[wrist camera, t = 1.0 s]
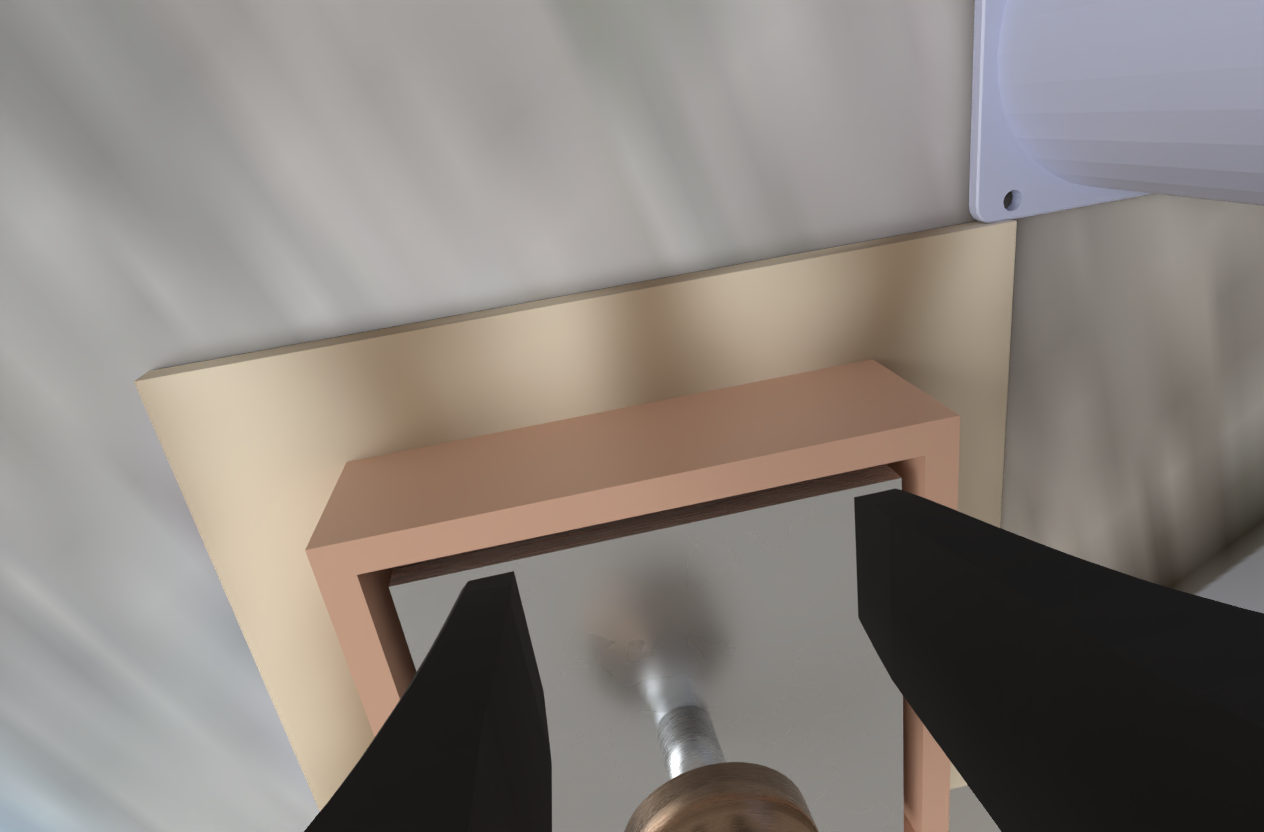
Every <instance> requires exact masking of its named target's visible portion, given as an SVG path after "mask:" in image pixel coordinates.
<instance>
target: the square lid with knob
mask: <svg viewBox="0 0 1264 832" xmlns="http://www.w3.org/2000/svg"><path fill="white" fill-rule="evenodd" d="M895 488H896V489H900V490H902V478H901V477H900V476H899V475H898V474H897V473H896V472H894V471H893V470H892V469H891V468H890V467H889V466H888V465H887V464H882V465H878V466H873V467H868V468H863V469H859V470H854V471H849V472H844V473H840V474H835V475H830V476H825V477H820V478H816V479H811V480H806V481H801V482H797V483H792V484H787V485H782V486H778V487H773V488H768V489H763V490H759V491H754V492H749V493H744V494H740V495H735V496H730V497H725V498H721V499H716V500H711V501H706V502H701V503H697V504H692V505H687V506H682V507H678V508H673V509H668V510H663V511H659V512H654V513H649V514H644V515H640V516H635V517H630V518H625V519H621V520H616V521H611V522H606V523H601V524H597V525H592V526H587V527H582V528H578V529H573V530H568V531H563V532H559V533H554V534H549V535H544V536H540V537H535V538H530V539H525V540H521V541H516V542H511V543H506V544H501V545H497V546H492V547H487V548H482V549H478V550H473V551H468V552H463V553H459V554H454V555H449V556H444V557H440V558H435V559H430V560H425V561H421V562H416V563H411V564H406V565H402V566H397V567H394V568H393V572H392V576H391V579H390V583H389V590H390V593H391V596H392V599H393V602H394V605H395V608H396V611H397V614H398V617H399V620H400V623H401V626H402V629H403V632H404V635H405V638H406V641H407V644H408V647H409V650H410V654H411V657H412V660H413V663H414V666H415V669H416V672H417V670H418V669H419V667H420V665H421V664H422V662H423V660H424V659H425V657H426V655H427V654H428V652H429V650H430V648H431V647H432V645H433V643H434V641H435V639H436V638H437V636H438V634H439V632H440V630H441V628H442V627H443V625H444V623H445V621H446V619H447V617H448V615H449V613H450V612H451V610H452V608H453V606H454V604H455V602H456V600H457V598H458V596H459V594H460V592H461V590H462V589H463V587H464V586H465V585H466V583H467V582H468V581H470V580H475V579H480V578H484V577H489V576H493V575H498V574H503V573H507V572H512V571H514V573H515V577H516V582H517V586H518V590H519V594H520V598H521V602H522V606H523V610H524V614H525V618H526V622H527V626H528V630H529V634H530V638H531V642H532V646H533V650H534V654H535V658H536V662H537V666H538V671H539V675H540V679H541V683H542V687H543V691H544V699H545V707H546V716H547V724H548V733H549V742H550V752H551V761H552V832H904V789H903V695H902V694H901V692H900V691H899V689H898V688H897V686H896V685H895V684H894V682H893V681H892V679H891V677H890V676H889V674H888V672H887V670H886V668H885V667H884V665H883V663H882V661H881V660H880V658H879V656H878V654H877V652H876V651H875V649H874V647H873V645H872V643H871V641H870V639H869V637H868V635H867V633H866V632H865V630H864V628H863V626H862V624H861V622H860V620H859V618H858V595H857V567H856V539H855V510H854V497H858V496H863V495H867V494H872V493H877V492H881V491H886V490H890V489H895Z"/></svg>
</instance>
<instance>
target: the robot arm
mask: <svg viewBox="0 0 1264 832" xmlns="http://www.w3.org/2000/svg"><path fill="white" fill-rule="evenodd" d="M1010 191H1011V192H1012V195H1013V199H1012V202H1011V204H1010V205H1009V206H1008V207H1007V208H1004V204H1003V201H1004V197H1005V196H1006V194H1007V193H1008V192H1010ZM1150 194H1163V195H1172V196H1181V197H1190V198H1200V199H1209V200H1218V201H1227V202H1237V203H1246V204H1255V205H1264V0H975V14H974V49H973V83H972V117H971V151H970V186H969V209H970V213H971V215H972V216H973V218H974V219H976V220H978V221H980V222H985V223H996V222H1001V221H1007V220H1012V219H1018V218H1023V217H1029V216H1034V215H1040V214H1045V213H1051V212H1056V211H1062V210H1067V209H1073V208H1078V207H1084V206H1089V205H1095V204H1100V203H1106V202H1112V201H1117V200H1123V199H1128V198H1134V197H1139V196H1145V195H1150ZM854 510H855V539H856V567H857V595H858V618H859V620H860V622H861V624H862V626H863V628H864V630H865V632H866V633H867V635H868V637H869V639H870V641H871V643H872V645H873V647H874V649H875V651H876V652H877V654H878V656H879V658H880V660H881V661H882V663H883V665H884V667H885V668H886V670H887V672H888V674H889V676H890V677H891V679H892V681H893V682H894V684H895V685H896V686H897V688H898V689H899V691H900V692H901V694H902V695H903V696H904V698H905V699H906V701H907V702H908V703H909V705H910V706H911V708H912V709H913V710H914V712H915V713H916V714H917V716H918V717H919V719H920V720H921V721H922V723H923V724H924V726H925V727H926V728H927V730H928V731H929V733H930V734H931V735H932V737H933V738H934V739H935V741H936V742H937V743H938V745H939V746H940V748H941V749H942V750H943V752H944V753H945V754H946V756H947V757H948V759H949V760H950V761H951V763H952V764H953V765H954V767H955V768H956V769H957V771H958V772H959V774H960V775H961V776H962V778H963V779H964V780H965V782H966V783H967V785H968V786H969V787H970V789H971V790H972V791H973V793H974V794H975V795H976V797H977V798H978V800H979V801H980V802H981V803H982V805H983V806H984V808H985V809H986V811H987V812H988V813H989V815H990V816H991V817H992V819H993V820H994V821H995V823H996V824H997V825H998V827H999V829H1000V830H1001V832H1264V614H1263V613H1259V612H1255V611H1251V610H1247V609H1243V608H1239V607H1236V606H1232V605H1229V604H1225V603H1221V602H1218V601H1214V600H1211V599H1207V598H1203V597H1200V596H1196V595H1192V594H1189V593H1185V592H1182V591H1178V590H1174V589H1171V588H1168V587H1164V586H1161V585H1158V584H1155V583H1151V582H1148V581H1145V580H1142V579H1139V578H1135V577H1133V576H1130V575H1127V574H1124V573H1121V572H1118V571H1115V570H1112V569H1109V568H1106V567H1103V566H1100V565H1097V564H1094V563H1091V562H1089V561H1086V560H1083V559H1080V558H1077V557H1074V556H1072V555H1069V554H1066V553H1063V552H1061V551H1058V550H1055V549H1053V548H1050V547H1047V546H1045V545H1042V544H1039V543H1037V542H1034V541H1032V540H1029V539H1026V538H1024V537H1021V536H1019V535H1016V534H1014V533H1011V532H1009V531H1006V530H1004V529H1001V528H999V527H996V526H994V525H991V524H989V523H986V522H984V521H981V520H979V519H976V518H974V517H971V516H969V515H966V514H964V513H961V512H959V511H956V510H954V509H951V508H949V507H946V506H944V505H941V504H939V503H936V502H934V501H931V500H929V499H926V498H923V497H921V496H918V495H915V494H912V493H909V492H906V491H903V490H900V489H896V488H895V489H890V490H886V491H881V492H877V493H872V494H867V495H863V496H858V497H854ZM304 832H552V761H551V752H550V742H549V733H548V724H547V716H546V707H545V699H544V691H543V687H542V683H541V679H540V675H539V671H538V666H537V662H536V658H535V654H534V650H533V646H532V642H531V638H530V634H529V630H528V626H527V622H526V618H525V614H524V610H523V606H522V602H521V598H520V594H519V590H518V586H517V582H516V577H515V573H514V571H512V572H507V573H503V574H498V575H493V576H489V577H484V578H480V579H475V580H470V581H468V582H467V583H466V585H465V586H464V587H463V589H462V590H461V592H460V594H459V596H458V598H457V600H456V602H455V604H454V606H453V608H452V610H451V612H450V613H449V615H448V617H447V619H446V621H445V623H444V625H443V627H442V628H441V630H440V632H439V634H438V636H437V638H436V639H435V641H434V643H433V645H432V647H431V648H430V650H429V652H428V654H427V655H426V657H425V659H424V660H423V662H422V664H421V665H420V667H419V669H418V670H417V672H416V674H415V675H414V677H413V679H412V680H411V682H410V684H409V686H408V687H407V689H406V691H405V692H404V694H403V695H402V697H401V699H400V700H399V702H398V703H397V705H396V706H395V708H394V709H393V711H392V712H391V714H390V715H389V717H388V718H387V720H386V721H385V723H384V724H383V726H382V727H381V729H380V730H379V732H378V733H377V735H376V736H375V738H374V739H373V741H372V742H371V744H370V745H369V747H368V748H367V750H366V751H365V753H364V754H363V755H362V757H361V758H360V760H359V761H358V762H357V764H356V765H355V767H354V768H353V769H352V771H351V772H350V773H349V775H348V776H347V777H346V779H345V780H344V782H343V783H342V784H341V786H340V787H339V788H338V789H337V791H336V792H335V793H334V795H333V796H332V797H331V799H330V800H329V801H328V802H327V804H326V805H325V806H324V807H323V809H322V810H321V811H320V812H319V814H318V815H317V816H316V817H315V819H314V820H313V821H312V822H311V824H310V825H309V826H308V827H307V829H306V830H305V831H304Z"/></svg>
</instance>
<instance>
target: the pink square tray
mask: <svg viewBox="0 0 1264 832" xmlns="http://www.w3.org/2000/svg"><path fill="white" fill-rule="evenodd" d="M959 441H960V415H959V414H957V413H956V412H954V411H953V410H951V409H950V408H948V407H946V406H945V405H943V404H942V403H940V402H939V401H937V400H936V399H934V398H932V397H931V396H929V395H928V394H926V393H925V392H923V391H922V390H920V389H918V388H917V387H915V386H914V385H912V384H911V383H909V382H908V381H906V380H904V379H903V378H901V377H900V376H898V375H897V374H895V373H893V372H892V371H890V370H889V369H887V368H886V367H884V366H883V365H881V364H879V363H878V362H876V361H875V360H873V359H870V360H865V361H860V362H854V363H849V364H844V365H839V366H834V367H829V368H824V369H819V370H814V371H809V372H803V373H798V374H793V375H788V376H783V377H778V378H773V379H768V380H763V381H758V382H753V383H747V384H742V385H737V386H732V387H727V388H722V389H717V390H712V391H707V392H702V393H696V394H691V395H686V396H681V397H676V398H671V399H666V400H661V401H656V402H651V403H646V404H640V405H635V406H630V407H625V408H620V409H615V410H610V411H605V412H600V413H595V414H589V415H584V416H579V417H574V418H569V419H564V420H559V421H554V422H549V423H544V424H539V425H533V426H528V427H523V428H518V429H513V430H508V431H503V432H498V433H493V434H488V435H482V436H477V437H472V438H467V439H462V440H457V441H452V442H447V443H442V444H437V445H432V446H426V447H421V448H416V449H411V450H406V451H401V452H396V453H391V454H386V455H381V456H375V457H370V458H365V459H360V460H355V461H350V462H346V464H345V466H344V468H343V470H342V473H341V475H340V477H339V479H338V481H337V483H336V485H335V487H334V490H333V492H332V494H331V496H330V498H329V500H328V502H327V504H326V507H325V509H324V511H323V513H322V515H321V517H320V519H319V521H318V524H317V526H316V528H315V530H314V532H313V534H312V536H311V538H310V541H309V543H308V545H307V547H306V549H305V552H306V554H307V557H308V560H309V562H310V565H311V568H312V570H313V573H314V576H315V578H316V581H317V584H318V587H319V589H320V592H321V595H322V597H323V600H324V603H325V605H326V608H327V611H328V613H329V616H330V619H331V621H332V624H333V627H334V629H335V632H336V635H337V638H338V640H339V643H340V646H341V648H342V651H343V654H344V656H345V659H346V662H347V664H348V667H349V670H350V672H351V675H352V678H353V680H354V683H355V686H356V688H357V691H358V694H359V697H360V699H361V702H362V705H363V707H364V710H365V713H366V715H367V718H368V721H369V723H370V726H371V729H372V731H373V734H374V737H375V736H376V735H377V733H378V732H379V730H380V729H381V727H382V726H383V724H384V723H385V721H386V720H387V718H388V717H389V715H390V714H391V712H392V711H393V709H394V708H395V706H396V705H397V703H398V702H399V700H400V699H401V697H402V695H403V694H404V692H405V691H406V689H407V687H408V686H409V684H410V682H411V680H412V679H413V677H414V675H415V674H416V669H415V666H414V663H413V660H412V657H411V654H410V650H409V647H408V644H407V641H406V638H405V635H404V632H403V629H402V626H401V623H400V620H399V617H398V614H397V611H396V608H395V605H394V602H393V599H392V596H391V593H390V590H389V583H390V579H391V576H392V572H393V568H394V567H397V566H402V565H406V564H411V563H416V562H421V561H425V560H430V559H435V558H440V557H444V556H449V555H454V554H459V553H463V552H468V551H473V550H478V549H482V548H487V547H492V546H497V545H501V544H506V543H511V542H516V541H521V540H525V539H530V538H535V537H540V536H544V535H549V534H554V533H559V532H563V531H568V530H573V529H578V528H582V527H587V526H592V525H597V524H601V523H606V522H611V521H616V520H621V519H625V518H630V517H635V516H640V515H644V514H649V513H654V512H659V511H663V510H668V509H673V508H678V507H682V506H687V505H692V504H697V503H701V502H706V501H711V500H716V499H721V498H725V497H730V496H735V495H740V494H744V493H749V492H754V491H759V490H763V489H768V488H773V487H778V486H782V485H787V484H792V483H797V482H801V481H806V480H811V479H816V478H820V477H825V476H830V475H835V474H840V473H844V472H849V471H854V470H859V469H863V468H868V467H873V466H878V465H882V464H887V465H888V466H889V467H890V468H891V469H892V470H893V471H894V472H896V473H897V474H898V475H899V476H900V477H901V478H902V490H903V491H906V492H909V493H912V494H915V495H918V496H921V497H923V498H926V499H929V500H931V501H934V502H936V503H939V504H941V505H944V506H946V507H949V508H951V509H954V510H956V511H958V477H959ZM950 765H951V761H950V760H949V759H948V757H947V756H946V754H945V753H944V752H943V750H942V749H941V748H940V746H939V745H938V743H937V742H936V741H935V739H934V738H933V737H932V735H931V734H930V733H929V731H928V730H927V728H926V727H925V726H924V724H923V723H922V721H921V720H920V719H919V717H918V716H917V714H916V713H915V712H914V710H913V709H912V708H911V706H910V705H909V703H908V702H907V701H906V699H905V698H904V696H903V789H904V832H949V801H950Z"/></svg>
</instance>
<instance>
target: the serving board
mask: <svg viewBox="0 0 1264 832" xmlns="http://www.w3.org/2000/svg"><path fill="white" fill-rule="evenodd" d="M1016 226H1017V221H1014V220H1007V221H1001V222H996V223H985V222H980V221H975V222H970V223H964V224H958V225H953V226H947V227H942V228H936V229H931V230H925V231H920V232H914V233H909V234H903V235H898V236H892V237H887V238H881V239H876V240H870V241H865V242H859V243H854V244H848V245H842V246H837V247H831V248H826V249H820V250H815V251H809V252H804V253H798V254H793V255H787V256H782V257H776V258H771V259H765V260H760V261H754V262H749V263H743V264H738V265H732V266H726V267H721V268H715V269H710V270H704V271H699V272H693V273H688V274H682V275H677V276H671V277H666V278H660V279H655V280H649V281H644V282H638V283H633V284H627V285H622V286H616V287H610V288H605V289H599V290H594V291H588V292H583V293H577V294H572V295H566V296H561V297H555V298H550V299H544V300H539V301H533V302H528V303H522V304H517V305H511V306H506V307H500V308H494V309H489V310H483V311H478V312H472V313H467V314H461V315H456V316H450V317H445V318H439V319H434V320H428V321H423V322H417V323H412V324H406V325H401V326H395V327H390V328H384V329H378V330H373V331H367V332H362V333H356V334H351V335H345V336H340V337H334V338H329V339H323V340H318V341H312V342H307V343H301V344H296V345H290V346H285V347H279V348H274V349H268V350H262V351H257V352H251V353H246V354H240V355H235V356H229V357H224V358H218V359H213V360H207V361H202V362H196V363H191V364H185V365H180V366H174V367H169V368H163V369H158V370H152V371H148V372H147V373H146V374H144V375H143V376H141V377H140V378H138V379H137V380H136V381H134V383H135V385H136V387H137V390H138V392H139V394H140V397H141V399H142V401H143V404H144V406H145V408H146V411H147V413H148V415H149V417H150V420H151V422H152V424H153V427H154V429H155V431H156V434H157V436H158V438H159V441H160V443H161V445H162V447H163V450H164V452H165V454H166V457H167V459H168V461H169V464H170V466H171V468H172V471H173V473H174V475H175V477H176V480H177V482H178V484H179V487H180V489H181V491H182V494H183V496H184V498H185V501H186V503H187V505H188V508H189V510H190V512H191V514H192V517H193V519H194V521H195V524H196V526H197V528H198V531H199V533H200V535H201V538H202V540H203V542H204V544H205V547H206V549H207V551H208V554H209V556H210V558H211V561H212V563H213V565H214V568H215V570H216V572H217V574H218V577H219V579H220V581H221V584H222V586H223V588H224V591H225V593H226V595H227V598H228V600H229V602H230V605H231V607H232V609H233V611H234V614H235V616H236V618H237V621H238V623H239V625H240V628H241V630H242V632H243V635H244V637H245V639H246V641H247V644H248V646H249V648H250V651H251V653H252V655H253V658H254V660H255V662H256V665H257V667H258V669H259V671H260V674H261V676H262V678H263V681H264V683H265V685H266V688H267V690H268V692H269V695H270V697H271V699H272V702H273V704H274V706H275V708H276V711H277V713H278V715H279V718H280V720H281V722H282V725H283V727H284V729H285V732H286V734H287V736H288V738H289V741H290V743H291V745H292V748H293V750H294V752H295V755H296V757H297V759H298V762H299V764H300V766H301V768H302V771H303V773H304V775H305V778H306V780H307V782H308V785H309V787H310V789H311V792H312V794H313V796H314V799H315V801H316V803H317V805H318V808H319V810H320V811H321V810H322V809H323V807H324V806H325V805H326V804H327V802H328V801H329V800H330V799H331V797H332V796H333V795H334V793H335V792H336V791H337V789H338V788H339V787H340V786H341V784H342V783H343V782H344V780H345V779H346V777H347V776H348V775H349V773H350V772H351V771H352V769H353V768H354V767H355V765H356V764H357V762H358V761H359V760H360V758H361V757H362V755H363V754H364V753H365V751H366V750H367V748H368V747H369V745H370V744H371V742H372V741H373V739H374V738H375V737H374V734H373V731H372V729H371V726H370V723H369V721H368V718H367V715H366V713H365V710H364V707H363V705H362V702H361V699H360V697H359V694H358V691H357V688H356V686H355V683H354V680H353V678H352V675H351V672H350V670H349V667H348V664H347V662H346V659H345V656H344V654H343V651H342V648H341V646H340V643H339V640H338V638H337V635H336V632H335V629H334V627H333V624H332V621H331V619H330V616H329V613H328V611H327V608H326V605H325V603H324V600H323V597H322V595H321V592H320V589H319V587H318V584H317V581H316V578H315V576H314V573H313V570H312V568H311V565H310V562H309V560H308V557H307V554H306V552H305V549H306V547H307V545H308V543H309V541H310V538H311V536H312V534H313V532H314V530H315V528H316V526H317V524H318V521H319V519H320V517H321V515H322V513H323V511H324V509H325V507H326V504H327V502H328V500H329V498H330V496H331V494H332V492H333V490H334V487H335V485H336V483H337V481H338V479H339V477H340V475H341V473H342V470H343V468H344V466H345V464H346V462H350V461H355V460H360V459H365V458H370V457H375V456H381V455H386V454H391V453H396V452H401V451H406V450H411V449H416V448H421V447H426V446H432V445H437V444H442V443H447V442H452V441H457V440H462V439H467V438H472V437H477V436H482V435H488V434H493V433H498V432H503V431H508V430H513V429H518V428H523V427H528V426H533V425H539V424H544V423H549V422H554V421H559V420H564V419H569V418H574V417H579V416H584V415H589V414H595V413H600V412H605V411H610V410H615V409H620V408H625V407H630V406H635V405H640V404H646V403H651V402H656V401H661V400H666V399H671V398H676V397H681V396H686V395H691V394H696V393H702V392H707V391H712V390H717V389H722V388H727V387H732V386H737V385H742V384H747V383H753V382H758V381H763V380H768V379H773V378H778V377H783V376H788V375H793V374H798V373H803V372H809V371H814V370H819V369H824V368H829V367H834V366H839V365H844V364H849V363H854V362H860V361H865V360H870V359H873V360H875V361H876V362H878V363H879V364H881V365H883V366H884V367H886V368H887V369H889V370H890V371H892V372H893V373H895V374H897V375H898V376H900V377H901V378H903V379H904V380H906V381H908V382H909V383H911V384H912V385H914V386H915V387H917V388H918V389H920V390H922V391H923V392H925V393H926V394H928V395H929V396H931V397H932V398H934V399H936V400H937V401H939V402H940V403H942V404H943V405H945V406H946V407H948V408H950V409H951V410H953V411H954V412H956V413H957V414H959V415H960V441H959V477H958V511H959V512H961V513H964V514H966V515H969V516H971V517H974V518H976V519H979V520H981V521H984V522H986V523H989V524H991V525H994V526H996V527H999V528H1000V522H1001V504H1002V485H1003V467H1004V448H1005V430H1006V411H1007V393H1008V374H1009V355H1010V337H1011V318H1012V300H1013V281H1014V263H1015V244H1016ZM966 785H967V783H966V782H965V780H964V779H963V778H962V776H961V775H960V774H959V772H958V771H957V769H956V768H955V767H954V765H953V764H952V763H951V765H950V790H951V789H954V788H958V787H962V786H966Z"/></svg>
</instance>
